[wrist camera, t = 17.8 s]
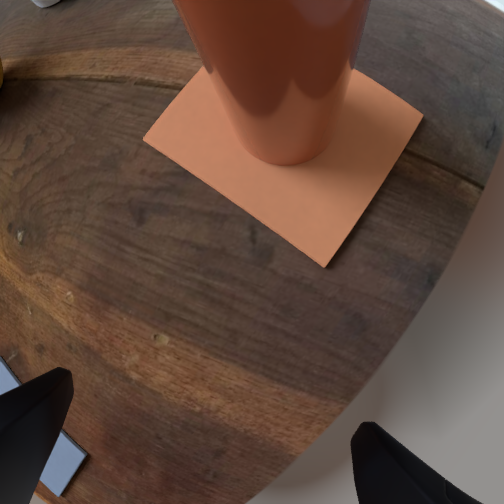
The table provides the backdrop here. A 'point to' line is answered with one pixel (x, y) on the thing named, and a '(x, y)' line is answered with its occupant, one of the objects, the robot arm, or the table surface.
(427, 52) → the table surface
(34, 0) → the ramekin
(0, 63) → the apple
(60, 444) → the slate mat
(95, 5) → the table surface
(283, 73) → the terracotta pot
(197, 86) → the terracotta mat
